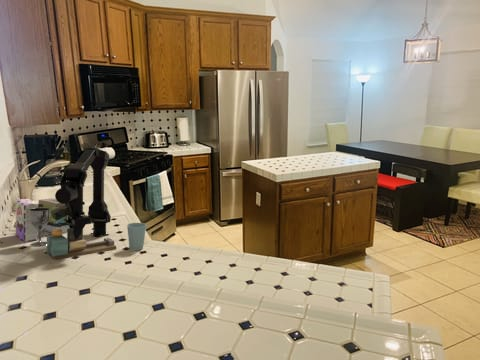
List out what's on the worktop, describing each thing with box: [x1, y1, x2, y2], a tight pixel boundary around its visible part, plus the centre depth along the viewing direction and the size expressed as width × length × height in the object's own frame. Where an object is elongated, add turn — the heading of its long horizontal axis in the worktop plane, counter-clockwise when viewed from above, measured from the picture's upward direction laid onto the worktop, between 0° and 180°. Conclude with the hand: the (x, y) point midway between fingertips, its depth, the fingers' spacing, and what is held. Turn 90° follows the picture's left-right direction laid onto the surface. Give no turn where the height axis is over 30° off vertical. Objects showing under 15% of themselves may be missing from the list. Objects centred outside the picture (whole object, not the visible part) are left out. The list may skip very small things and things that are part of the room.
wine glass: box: [29, 207, 51, 248], centre depth 150 cm, size 8×8×15 cm
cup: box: [126, 222, 147, 252], centre depth 151 cm, size 8×8×10 cm
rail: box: [45, 234, 117, 260], centre depth 145 cm, size 10×24×7 cm, turn 133°
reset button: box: [51, 230, 63, 236], centre depth 138 cm, size 4×4×1 cm
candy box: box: [14, 198, 39, 243], centre depth 158 cm, size 14×6×16 cm, turn 45°
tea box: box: [37, 197, 70, 234], centre depth 173 cm, size 15×10×15 cm, turn 58°
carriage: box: [66, 228, 87, 251], centre depth 143 cm, size 7×6×8 cm
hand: (75, 237), depth 142 cm, fingers closed on carriage, 3 cm apart
